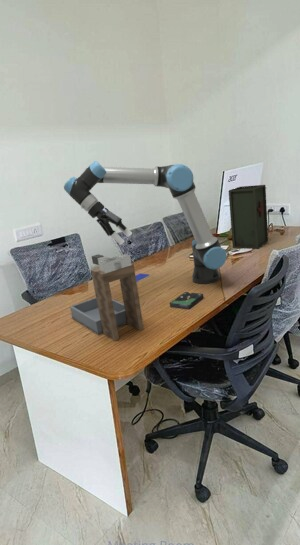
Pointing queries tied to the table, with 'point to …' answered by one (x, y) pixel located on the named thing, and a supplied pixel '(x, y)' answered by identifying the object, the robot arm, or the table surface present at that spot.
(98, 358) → the table surface
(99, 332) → the tray
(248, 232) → the first aid box
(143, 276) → the hard drive
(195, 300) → the disk drive
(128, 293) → the bridge
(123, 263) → the t handle
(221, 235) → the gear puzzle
